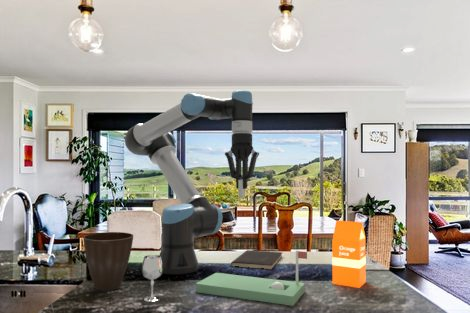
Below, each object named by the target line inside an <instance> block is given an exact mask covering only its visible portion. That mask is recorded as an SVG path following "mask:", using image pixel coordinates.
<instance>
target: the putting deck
mask: <svg viewBox="0 0 470 313" xmlns="http://www.w3.org/2000/svg"><path fill="white" fill-rule="evenodd" d="M299 259H303V260H304V259H306V260H307V259H308V252H307V251H299V250H298V249H297V250H295V281H290V280H284V279H283V280H282V279H274V278H272V279H271V278H264V277H255V276H249V275H248V276H247V275H237V274H230V273H222V272H215V273H213V274H211V275H208V276H207V277H205V278H203V279H202V280H200V281H198V282H196V283H195V293H201V294H207V295H215V296H220V297H227V298H228V297H229V298H236V299H242V300H243V299H244V300H248V301H249V300H250V301H257V302H264V303H270V304H271V303H272V304H279V305H286V306H294V305H296V303H297V302H298V301H299V300H300V298H301V297H302V296H303V294H304V293H305V292H306V282H300V281H299ZM274 282H280V283H282V284H283V286H284V290H279V289H271V285H272V284H273V283H274Z"/></svg>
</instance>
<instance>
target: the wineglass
mask: <svg viewBox="0 0 470 313" xmlns="http://www.w3.org/2000/svg"><path fill="white" fill-rule="evenodd" d="M159 255H160V254H150V255H144V257H143V260H142V264H141V273H142V276H143V277H144V278H146V279H148V280H150V287H151V289H150V292H151V294H150V296H147V297H145V298H144V299H143V301H144V302H146V303H147V302H148V303H154V302H158V301H160V299H161V298H160V296H155V295H154V285H155V281H154V280H157V279H158V278H160V277H161V276H162V275H163V273H162V270H163V265H162V260H161V256H159Z"/></svg>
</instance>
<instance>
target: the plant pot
mask: <svg viewBox="0 0 470 313" xmlns="http://www.w3.org/2000/svg"><path fill="white" fill-rule="evenodd" d="M133 241H134V234H133V233H130V232H122V231H121V232H119V231H117V232H116V231H107V232H96V233H89V234H86V235H84V236H83V245H84V254H85V259H86V264H87V267H88V272H89V275H90V278H91V280H92V284H93V287H94V288H95V290H97V291H100V292H101V291H102V292H103V291H104V292H106V291H107V292H108V291H115V290H117V289H119V288H120V287H121V285H122V283H123V279H124V277H125V275H126V272H127V271H126V270H127V267H128V264H129V261H130V257H131V252H132V247H133Z"/></svg>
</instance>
